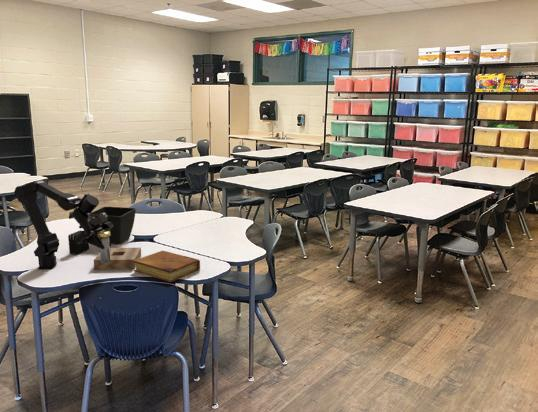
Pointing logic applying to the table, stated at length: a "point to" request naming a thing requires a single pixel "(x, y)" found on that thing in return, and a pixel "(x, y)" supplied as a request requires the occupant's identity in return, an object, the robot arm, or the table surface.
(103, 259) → the pin
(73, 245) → the electronic device
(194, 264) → the diary
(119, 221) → the flower pot
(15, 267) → the table surface
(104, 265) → the socket block
